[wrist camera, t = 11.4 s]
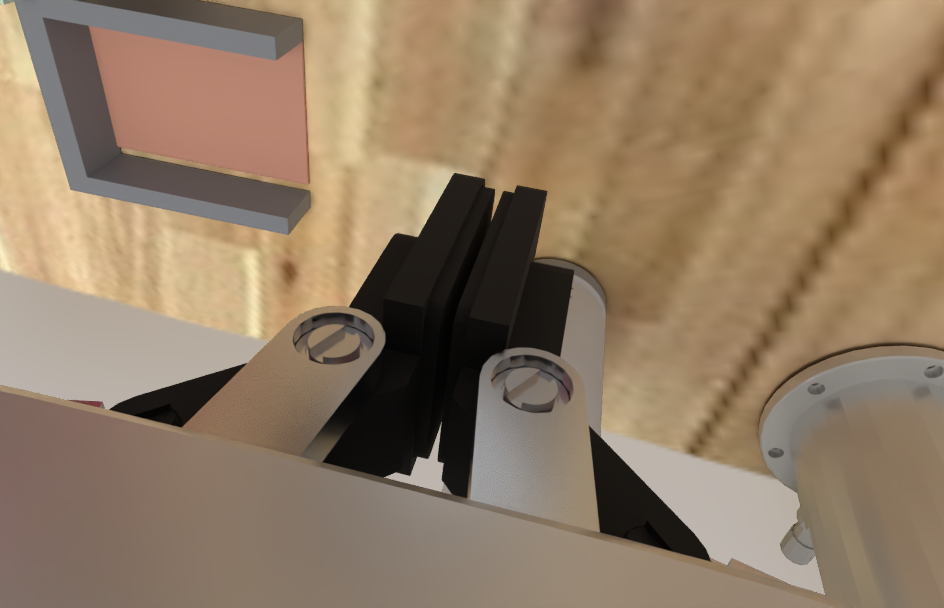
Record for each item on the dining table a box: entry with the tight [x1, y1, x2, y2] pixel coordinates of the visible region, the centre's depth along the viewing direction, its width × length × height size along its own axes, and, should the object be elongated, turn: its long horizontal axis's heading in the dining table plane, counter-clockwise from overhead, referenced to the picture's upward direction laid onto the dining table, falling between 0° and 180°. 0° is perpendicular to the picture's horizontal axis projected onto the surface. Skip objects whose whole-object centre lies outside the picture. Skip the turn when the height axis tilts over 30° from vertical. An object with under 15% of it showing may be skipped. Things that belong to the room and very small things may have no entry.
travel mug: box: [442, 259, 606, 495], centre depth 29 cm, size 6×7×20 cm
